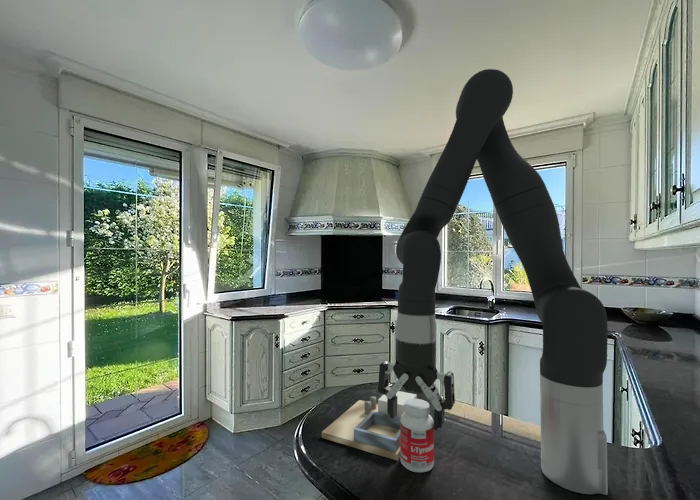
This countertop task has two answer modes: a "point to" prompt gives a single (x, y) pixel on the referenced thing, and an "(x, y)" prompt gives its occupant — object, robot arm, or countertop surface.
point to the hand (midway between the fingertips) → (414, 422)
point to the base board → (367, 430)
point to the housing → (400, 402)
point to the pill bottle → (417, 436)
